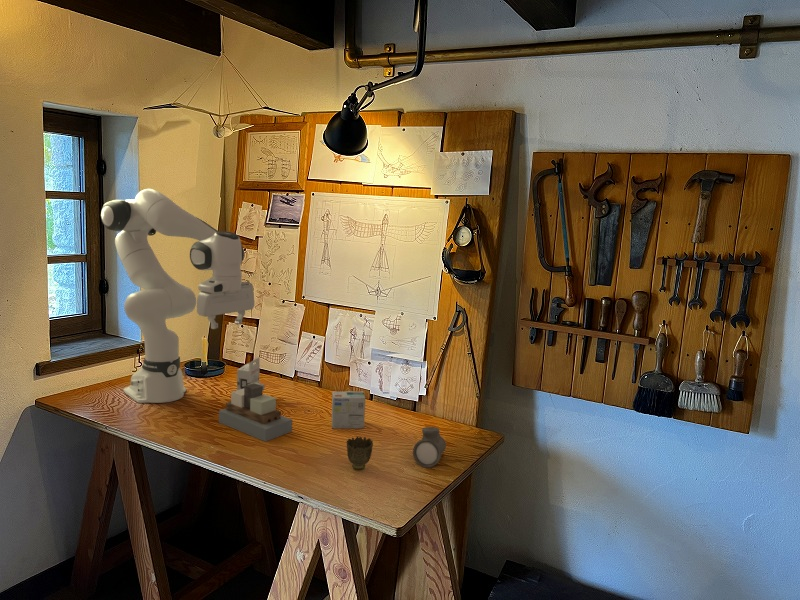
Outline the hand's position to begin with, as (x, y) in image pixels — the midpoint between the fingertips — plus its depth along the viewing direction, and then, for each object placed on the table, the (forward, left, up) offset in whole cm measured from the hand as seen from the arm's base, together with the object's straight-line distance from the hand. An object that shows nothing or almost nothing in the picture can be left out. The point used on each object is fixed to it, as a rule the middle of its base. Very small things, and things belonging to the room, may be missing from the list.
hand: (226, 326), depth 199 cm
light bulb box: (+32, +24, -31) cm, 51 cm away
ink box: (-10, +18, -31) cm, 37 cm away
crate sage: (+15, +2, -25) cm, 29 cm away
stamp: (-1, +14, -31) cm, 34 cm away
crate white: (+6, +2, -25) cm, 26 cm away
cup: (+55, +2, -31) cm, 63 cm away
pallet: (+11, +2, -27) cm, 29 cm away
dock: (+12, +2, -31) cm, 33 cm away
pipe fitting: (+67, +21, -31) cm, 77 cm away
